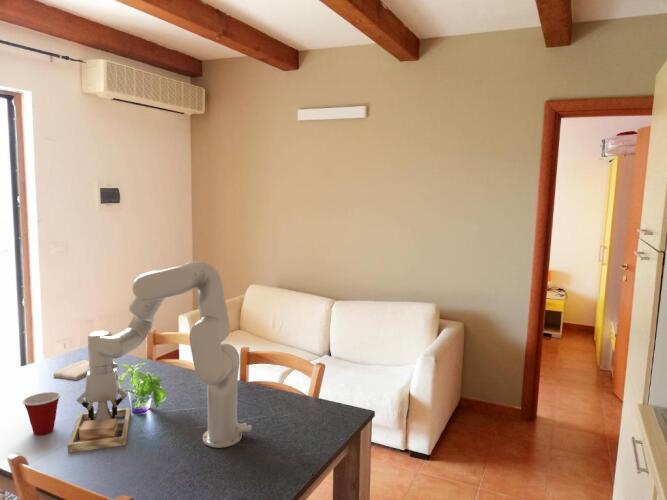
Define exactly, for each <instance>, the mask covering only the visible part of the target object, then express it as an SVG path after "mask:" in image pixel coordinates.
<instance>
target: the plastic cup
mask: <svg viewBox="0 0 667 500" xmlns="http://www.w3.org/2000/svg"><path fill="white" fill-rule="evenodd" d="M60 398H61V393H59V392H57V391H47V392H41V393H37V394H33V395H29V396H28V397H26V398H24V399H23V400H22V404H23V405H24V406H25V409H26V411H27V415H28V420H29V423H30V426H31V429H32V432H33V435H35V436H45V435H47V434H48V435H49V434H50V433H52V432H53V431H54V429H55V422H56V416H57V411H58V404H59V399H60Z"/></svg>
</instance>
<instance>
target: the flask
mask: <svg viewBox="0 0 667 500" xmlns="http://www.w3.org/2000/svg"><path fill="white" fill-rule="evenodd" d="M97 403H98V404H97V409H96V414H95V417H94V419H93V420H104V419H113V418H112V415H111V413H110V411H109V410H110V409H109V404H108V401H101V402H97Z"/></svg>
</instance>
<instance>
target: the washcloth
mask: <svg viewBox="0 0 667 500" xmlns="http://www.w3.org/2000/svg"><path fill="white" fill-rule="evenodd" d="M88 371H89V359H88V360H87V359H82V360H80V361H78V362H73V363H71V364H69V365H67V366H65V367H63V368H60V369H58V370H56V371H55V372H54V373H53V377H54V378H56V379H65V380H71V381H78V380H81V379H83V378H85V377H86V376H87V372H88Z"/></svg>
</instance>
